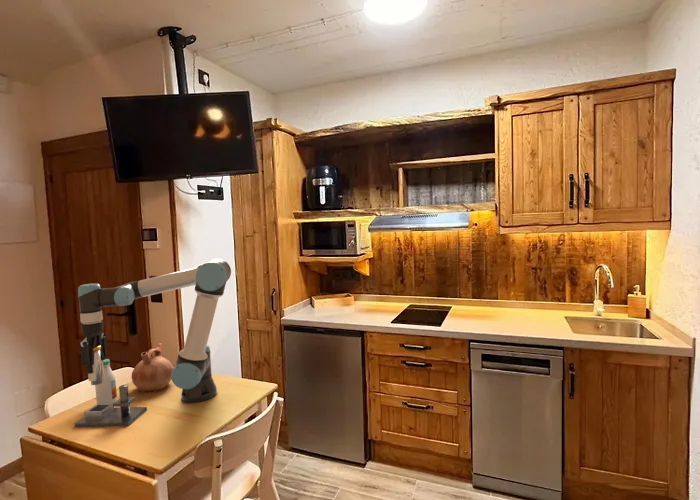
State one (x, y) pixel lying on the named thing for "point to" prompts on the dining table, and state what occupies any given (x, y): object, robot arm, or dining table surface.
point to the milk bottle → (106, 386)
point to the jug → (152, 371)
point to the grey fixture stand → (112, 412)
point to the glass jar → (97, 366)
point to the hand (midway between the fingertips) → (96, 378)
